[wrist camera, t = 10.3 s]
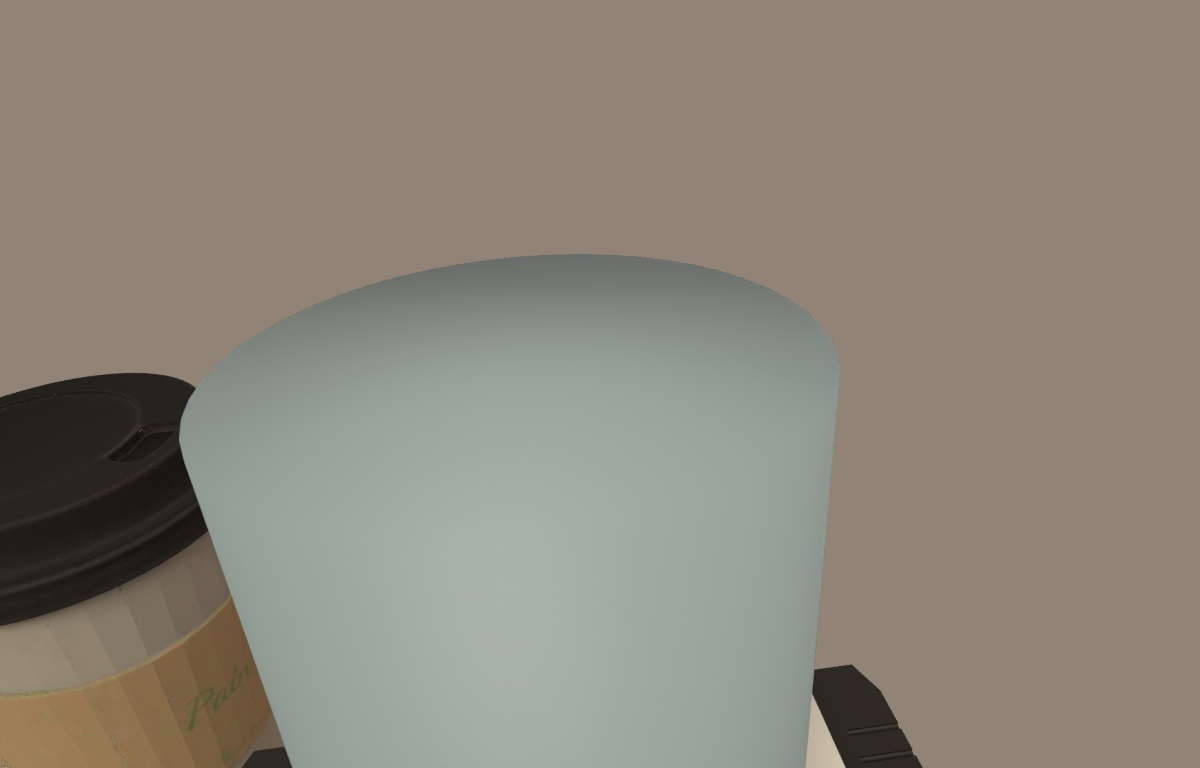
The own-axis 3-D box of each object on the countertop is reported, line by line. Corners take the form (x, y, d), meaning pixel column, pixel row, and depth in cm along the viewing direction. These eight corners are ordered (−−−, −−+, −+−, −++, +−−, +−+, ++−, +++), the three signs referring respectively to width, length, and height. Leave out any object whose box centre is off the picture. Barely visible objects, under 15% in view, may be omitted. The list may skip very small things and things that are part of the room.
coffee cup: (364, 879, 25) (239, 485, 18) (17, 1027, 22) (-295, 619, 15) (329, 669, 33) (232, 336, 26) (69, 756, 30) (-120, 405, 23)
